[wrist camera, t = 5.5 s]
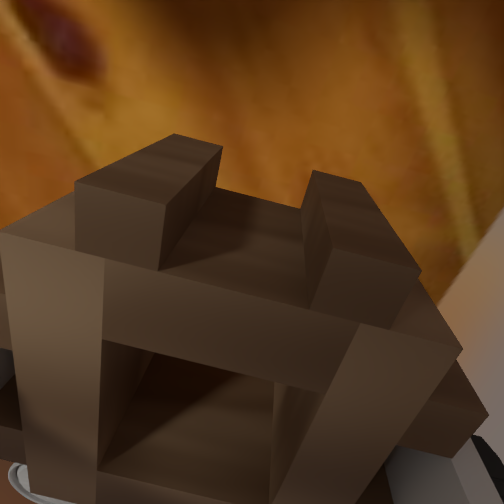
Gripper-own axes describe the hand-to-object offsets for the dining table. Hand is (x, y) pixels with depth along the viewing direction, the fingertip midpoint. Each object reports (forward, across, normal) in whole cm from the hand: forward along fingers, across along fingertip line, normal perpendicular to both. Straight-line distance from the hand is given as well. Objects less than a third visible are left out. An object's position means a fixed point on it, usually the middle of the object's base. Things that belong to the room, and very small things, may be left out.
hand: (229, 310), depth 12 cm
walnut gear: (0, 0, 0) cm, 0 cm away
